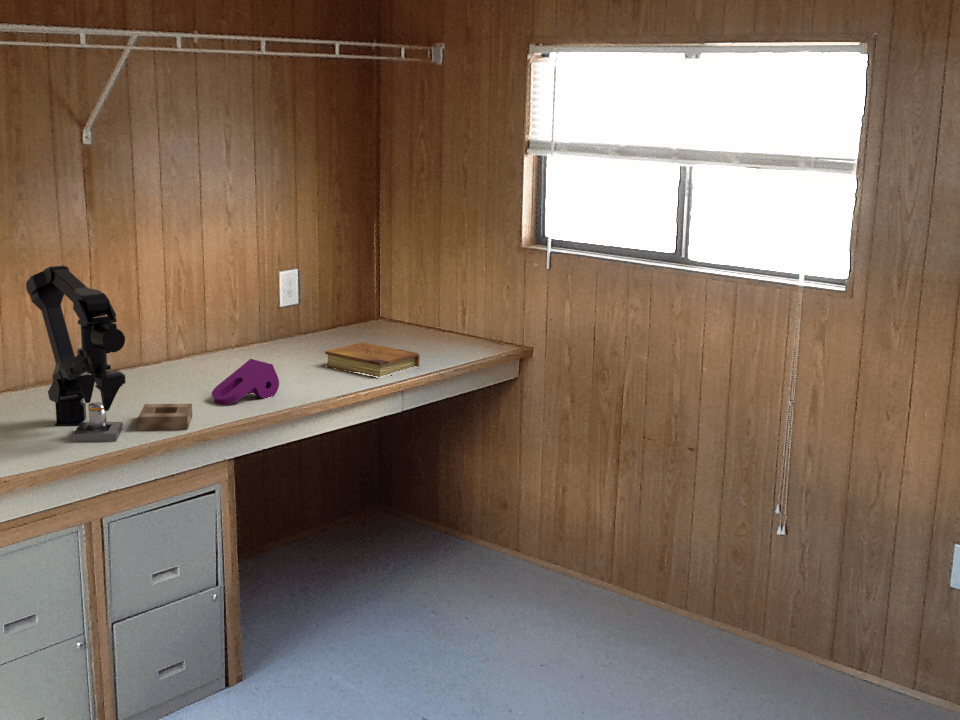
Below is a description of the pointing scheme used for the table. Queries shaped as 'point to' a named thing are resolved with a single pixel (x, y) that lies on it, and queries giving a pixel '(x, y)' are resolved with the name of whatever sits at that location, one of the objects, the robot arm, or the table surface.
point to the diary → (371, 359)
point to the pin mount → (97, 433)
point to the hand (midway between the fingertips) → (96, 406)
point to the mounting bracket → (247, 383)
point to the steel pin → (97, 417)
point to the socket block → (165, 416)
